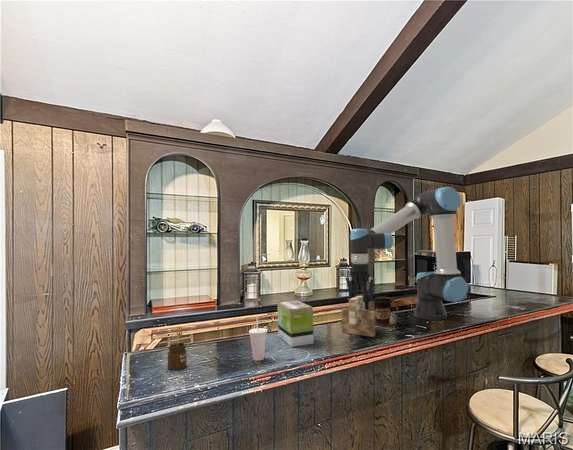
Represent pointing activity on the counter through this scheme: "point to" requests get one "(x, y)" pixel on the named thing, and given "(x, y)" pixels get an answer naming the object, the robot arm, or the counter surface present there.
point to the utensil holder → (177, 354)
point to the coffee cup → (382, 310)
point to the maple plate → (355, 309)
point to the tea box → (295, 323)
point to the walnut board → (359, 323)
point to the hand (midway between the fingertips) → (361, 316)
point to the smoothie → (258, 342)
